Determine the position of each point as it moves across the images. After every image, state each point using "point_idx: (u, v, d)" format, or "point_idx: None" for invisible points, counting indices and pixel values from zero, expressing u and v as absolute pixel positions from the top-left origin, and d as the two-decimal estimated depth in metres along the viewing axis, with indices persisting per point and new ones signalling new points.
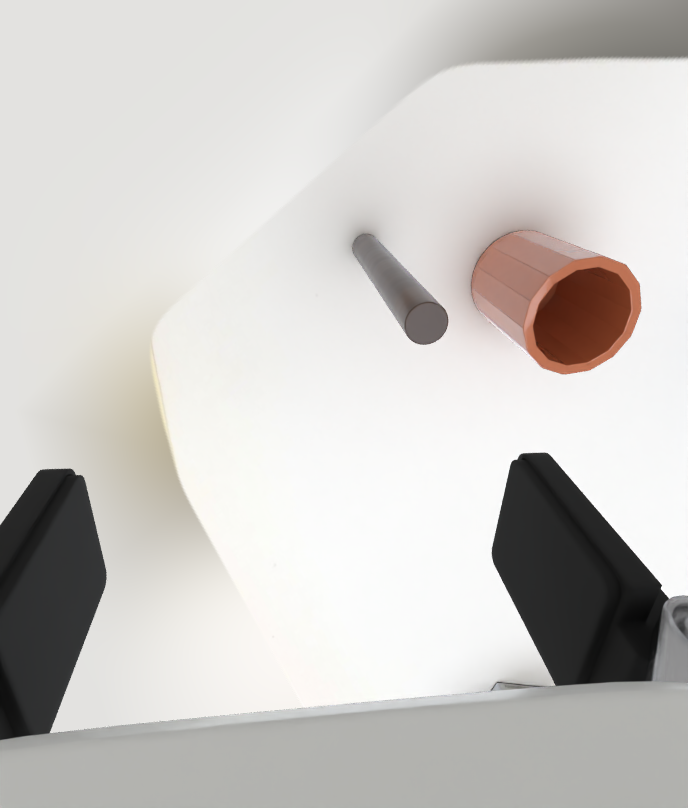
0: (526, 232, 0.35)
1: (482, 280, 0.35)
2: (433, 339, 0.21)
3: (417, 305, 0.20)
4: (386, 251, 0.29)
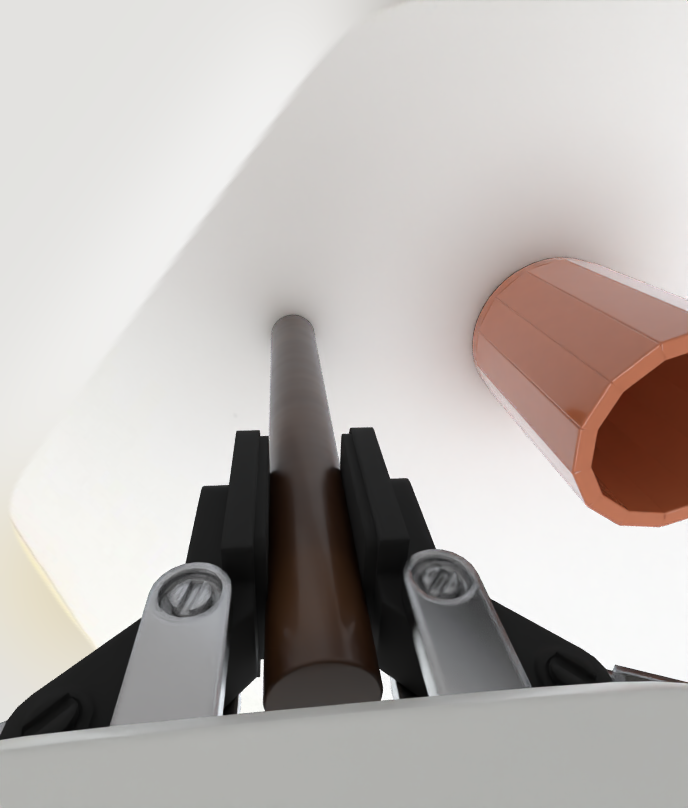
0: (549, 264, 0.21)
1: (489, 357, 0.21)
2: None
3: (282, 674, 0.07)
4: (301, 369, 0.16)
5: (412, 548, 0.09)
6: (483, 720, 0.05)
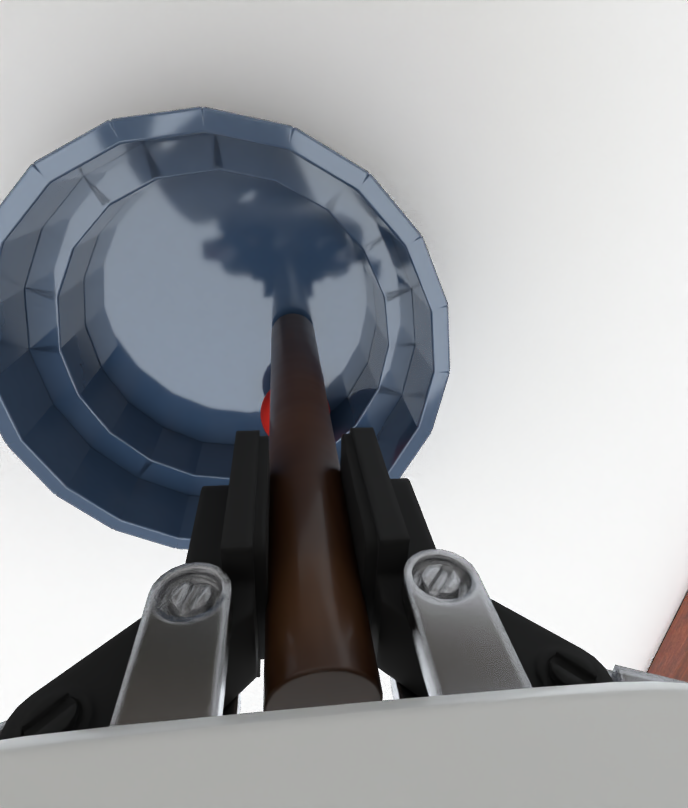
0: None
1: None
2: None
3: (282, 683, 0.07)
4: (300, 369, 0.16)
5: (412, 548, 0.09)
6: (483, 720, 0.05)
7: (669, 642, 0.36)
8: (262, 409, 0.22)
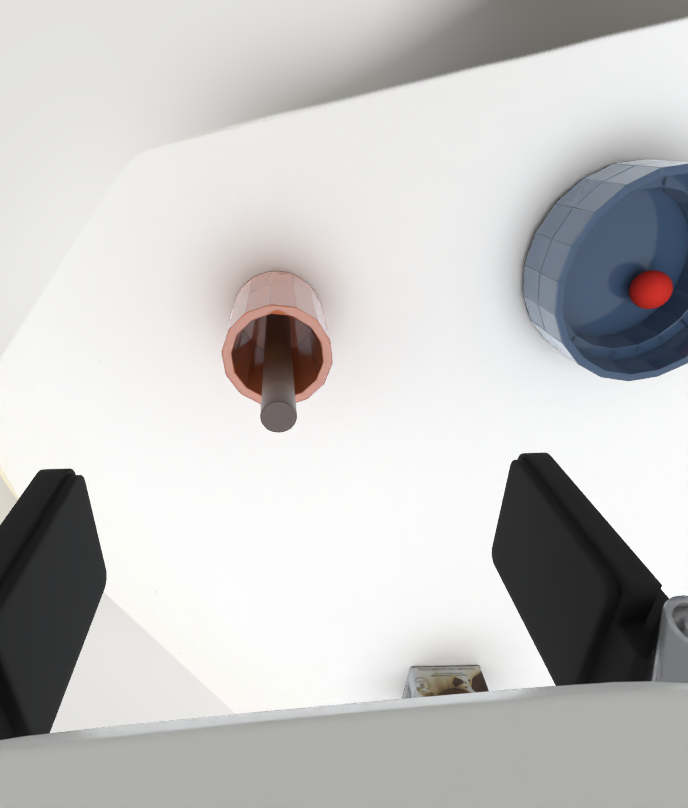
0: (263, 275, 0.38)
1: None
2: (288, 426, 0.26)
3: (265, 406, 0.25)
4: (279, 331, 0.34)
5: None
6: (483, 720, 0.05)
7: None
8: (639, 274, 0.41)
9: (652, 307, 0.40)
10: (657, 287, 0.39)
